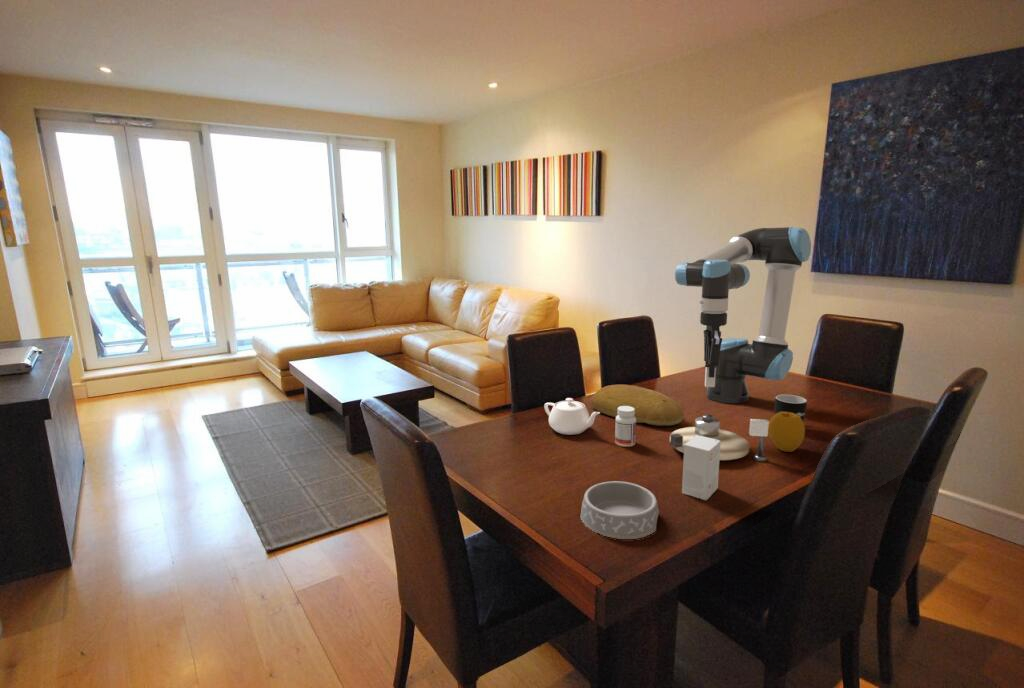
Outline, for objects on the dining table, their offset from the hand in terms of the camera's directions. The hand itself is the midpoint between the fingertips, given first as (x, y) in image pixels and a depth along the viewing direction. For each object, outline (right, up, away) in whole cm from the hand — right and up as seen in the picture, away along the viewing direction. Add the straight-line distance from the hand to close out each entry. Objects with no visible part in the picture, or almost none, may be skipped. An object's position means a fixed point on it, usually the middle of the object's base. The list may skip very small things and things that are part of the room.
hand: (709, 386), depth 162 cm
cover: (-2, -14, -3) cm, 15 cm away
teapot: (-42, -15, +9) cm, 46 cm away
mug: (+30, -14, +8) cm, 34 cm away
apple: (+19, -18, -9) cm, 27 cm away
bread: (-17, -12, +23) cm, 31 cm away
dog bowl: (-37, -27, -43) cm, 63 cm away
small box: (-15, -24, -32) cm, 43 cm away
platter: (-4, -17, -9) cm, 19 cm away
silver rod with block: (+8, -20, -15) cm, 26 cm away
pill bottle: (-27, -18, -2) cm, 32 cm away
